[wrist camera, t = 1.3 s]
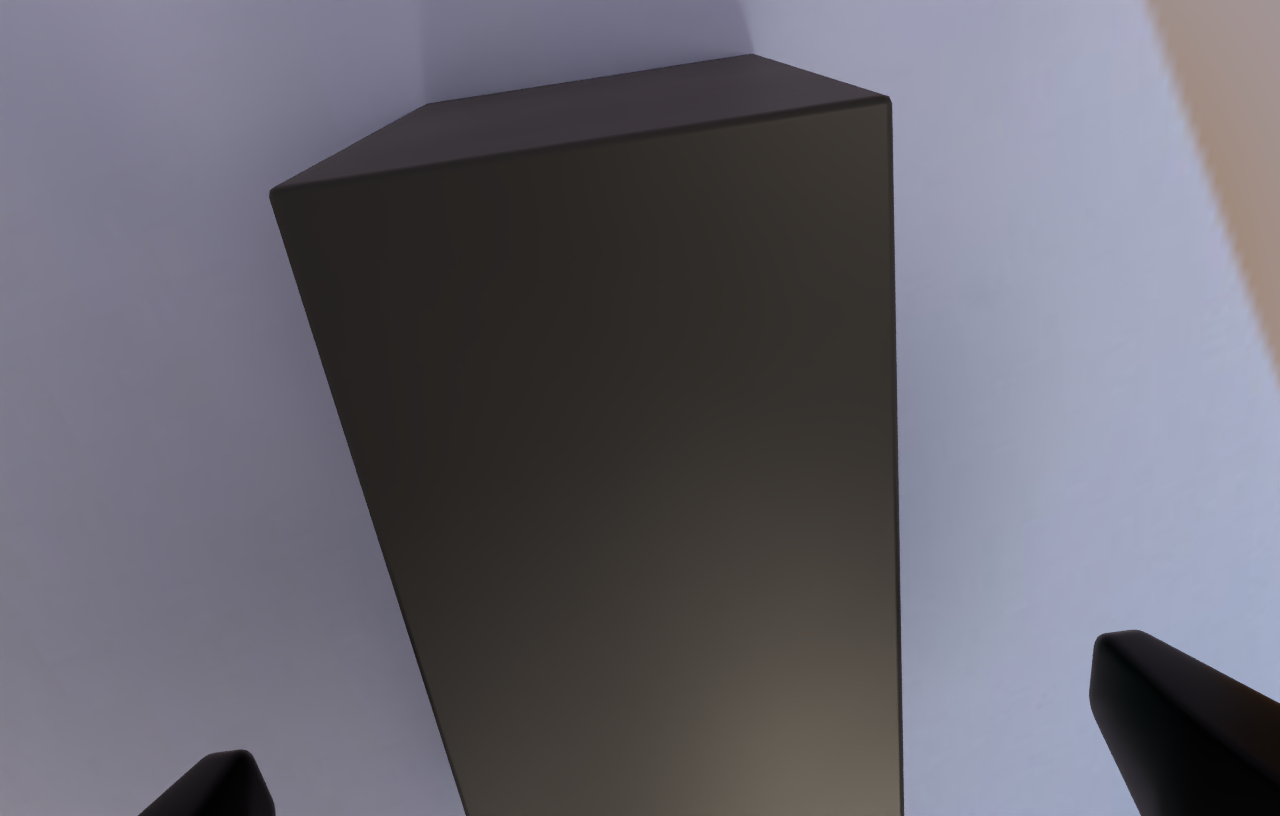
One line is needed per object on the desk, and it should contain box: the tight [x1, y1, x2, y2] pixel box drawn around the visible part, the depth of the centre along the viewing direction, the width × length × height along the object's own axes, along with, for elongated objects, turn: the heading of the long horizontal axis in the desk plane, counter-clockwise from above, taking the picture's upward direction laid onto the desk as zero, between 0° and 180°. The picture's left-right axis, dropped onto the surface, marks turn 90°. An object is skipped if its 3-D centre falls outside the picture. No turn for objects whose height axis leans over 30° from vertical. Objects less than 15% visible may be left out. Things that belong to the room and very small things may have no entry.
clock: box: [269, 54, 904, 816], centre depth 11 cm, size 12×5×6 cm, turn 8°
